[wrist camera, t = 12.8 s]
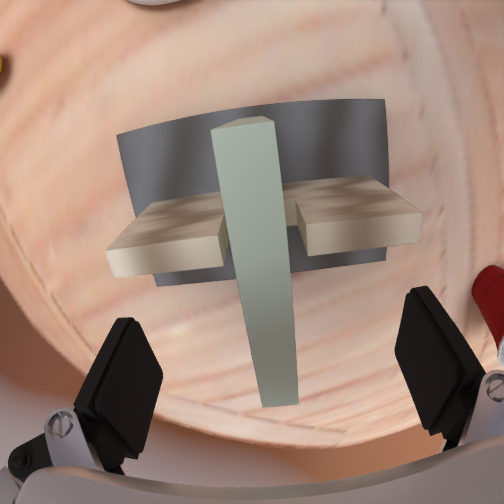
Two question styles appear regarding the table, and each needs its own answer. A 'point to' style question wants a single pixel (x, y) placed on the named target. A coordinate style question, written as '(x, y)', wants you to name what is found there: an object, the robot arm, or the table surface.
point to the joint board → (293, 186)
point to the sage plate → (259, 250)
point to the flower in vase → (152, 2)
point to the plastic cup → (492, 303)
